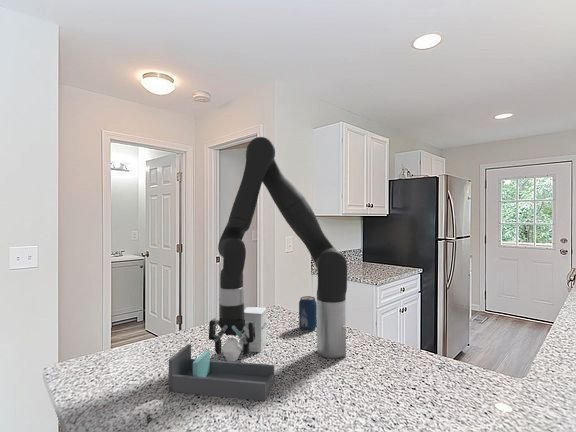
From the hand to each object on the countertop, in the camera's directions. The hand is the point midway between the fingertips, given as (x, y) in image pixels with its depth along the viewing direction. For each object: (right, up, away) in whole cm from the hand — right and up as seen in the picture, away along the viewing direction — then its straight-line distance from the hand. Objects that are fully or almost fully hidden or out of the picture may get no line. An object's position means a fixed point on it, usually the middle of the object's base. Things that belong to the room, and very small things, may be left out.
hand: (232, 354), depth 99 cm
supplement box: (+6, -2, +9) cm, 11 cm away
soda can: (+25, -2, +27) cm, 37 cm away
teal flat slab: (-6, 0, -14) cm, 15 cm away
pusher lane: (0, -2, -15) cm, 15 cm away
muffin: (0, -2, 0) cm, 2 cm away
